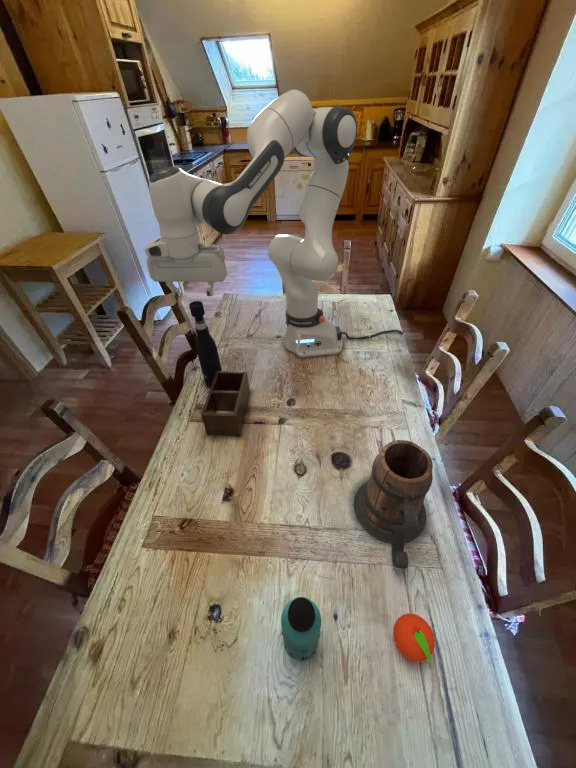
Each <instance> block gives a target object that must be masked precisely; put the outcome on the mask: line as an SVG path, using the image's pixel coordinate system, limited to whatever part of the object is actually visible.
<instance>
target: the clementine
mask: <svg viewBox="0 0 576 768" xmlns="http://www.w3.org/2000/svg"><path fill="white" fill-rule="evenodd" d="M392 635H393V636H392V637H393V641H394V644H395V647H396V648H397V650H398V652H399V653H400V654H401V655H402V656H403V657H404V658H405V659H407V660H408V661H411V662H413V663H423V662H425V661H428V662H429V666H430V667H432V655H433V653H434V650H435V647H436V639H435V634H434V632H433V629H432V627H431V625H430V624H429V623H428V622H427V621H426V619H424V618H423V617H421V616H420V615H418V614H415V613H405V614H402V615H401V616H399V617H398V618H397V619H396V621H395V622H394V624H393V631H392Z"/></svg>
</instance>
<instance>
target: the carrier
mask: <svg viewBox="0 0 576 768" xmlns="http://www.w3.org/2000/svg"><path fill="white" fill-rule="evenodd" d="M248 375H249V374H248V371H237V370H236V371H234V370H233V371H232V370H231V371H230V370H222V371H216V374H215V377H214V379H213V382H212V385H211V388H209V391H208V394H207V397H206V400H205V402H204V404H203V408H202V411H201V413H200V416H201V420H202V424H203V426H204V429H205V433H206V436H220V437H221V436H224V437H225V436H226V437H240V436H241V433H242V430H243V425H244V421H245V416H246V412H247V407H248V402H249V398H250V394H251V390H250V382H249V376H248Z"/></svg>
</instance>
